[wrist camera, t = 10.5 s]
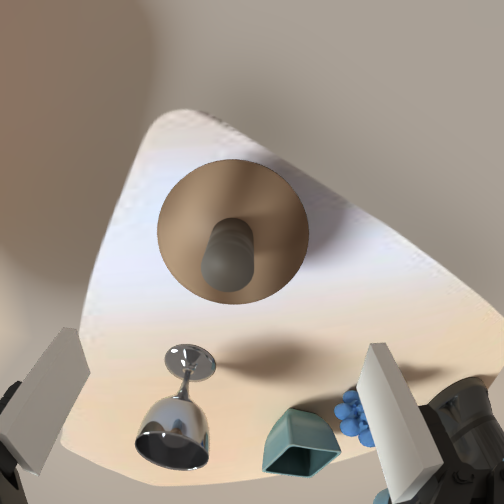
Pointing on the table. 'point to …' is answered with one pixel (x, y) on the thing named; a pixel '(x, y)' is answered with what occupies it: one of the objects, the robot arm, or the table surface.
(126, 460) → the table surface
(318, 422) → the flower pot
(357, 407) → the grapes
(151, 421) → the wine glass
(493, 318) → the table surface
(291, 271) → the lid
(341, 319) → the table surface
